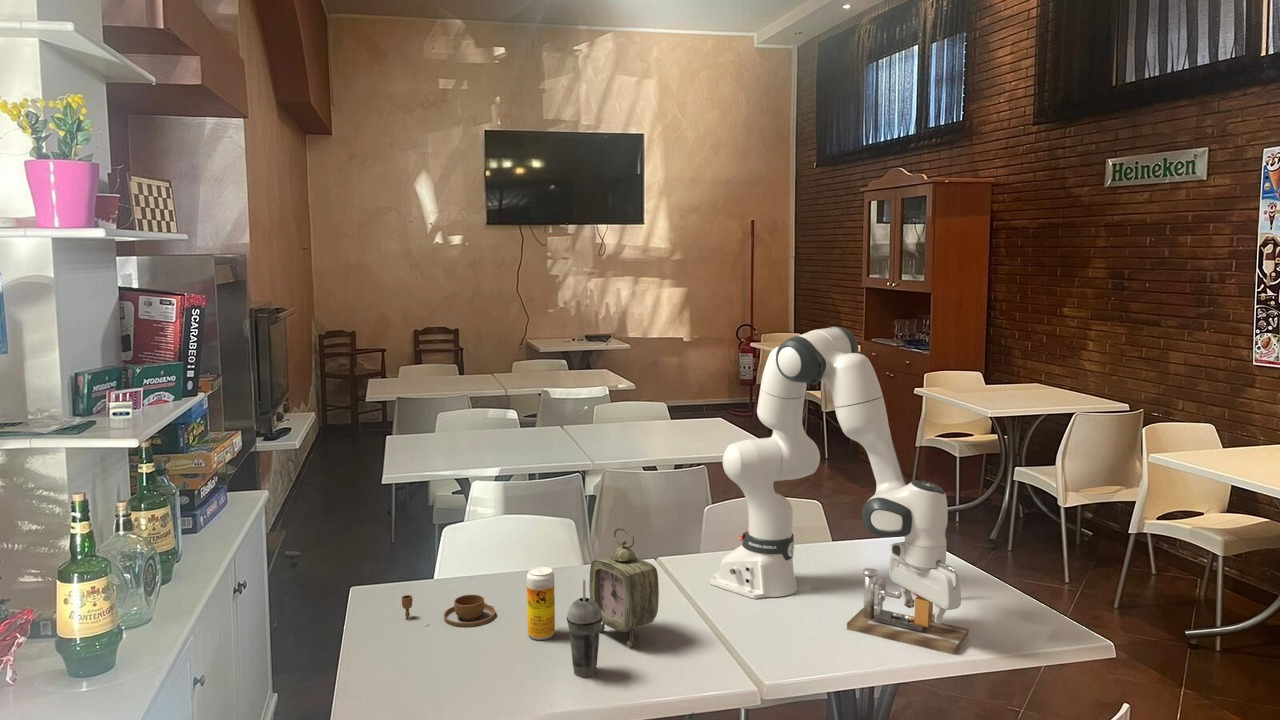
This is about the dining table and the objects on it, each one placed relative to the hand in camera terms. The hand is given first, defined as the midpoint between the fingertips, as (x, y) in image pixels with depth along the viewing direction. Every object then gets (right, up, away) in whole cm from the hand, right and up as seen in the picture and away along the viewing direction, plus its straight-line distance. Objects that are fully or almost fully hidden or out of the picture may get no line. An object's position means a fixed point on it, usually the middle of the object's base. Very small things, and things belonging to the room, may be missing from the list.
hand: (922, 614), depth 201 cm
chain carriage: (-4, -3, +3) cm, 5 cm away
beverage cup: (-75, -7, -17) cm, 77 cm away
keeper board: (-3, -5, +2) cm, 6 cm away
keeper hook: (-8, -3, +6) cm, 10 cm away
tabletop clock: (-67, -5, 0) cm, 67 cm away
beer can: (-85, -5, +1) cm, 86 cm away
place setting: (-107, -4, +13) cm, 108 cm away
